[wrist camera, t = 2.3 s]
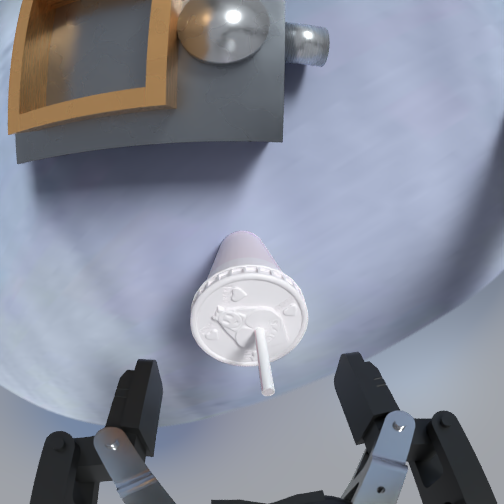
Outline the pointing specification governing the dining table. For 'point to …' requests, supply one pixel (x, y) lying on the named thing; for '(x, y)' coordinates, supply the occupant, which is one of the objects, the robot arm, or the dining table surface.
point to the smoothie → (248, 308)
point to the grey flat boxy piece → (151, 72)
